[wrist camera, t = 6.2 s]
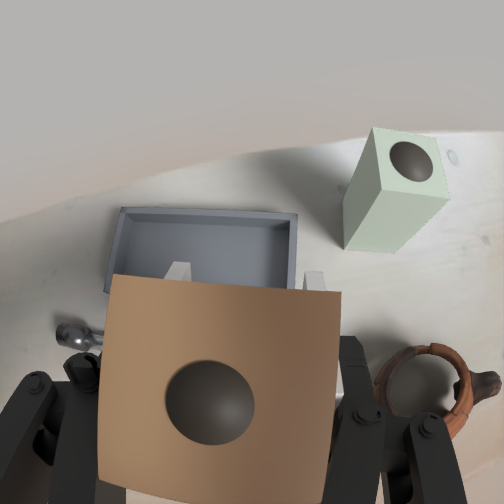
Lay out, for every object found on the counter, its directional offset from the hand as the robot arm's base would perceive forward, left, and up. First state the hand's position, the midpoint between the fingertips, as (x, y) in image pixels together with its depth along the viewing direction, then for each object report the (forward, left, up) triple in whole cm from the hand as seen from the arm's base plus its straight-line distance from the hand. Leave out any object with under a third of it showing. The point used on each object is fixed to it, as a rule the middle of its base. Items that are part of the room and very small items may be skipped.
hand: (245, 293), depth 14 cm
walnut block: (0, -4, -3) cm, 5 cm away
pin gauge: (-13, -4, -13) cm, 19 cm away
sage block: (+10, +9, -13) cm, 19 cm away
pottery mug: (+16, -6, -13) cm, 21 cm away
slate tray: (-5, +5, -13) cm, 15 cm away
